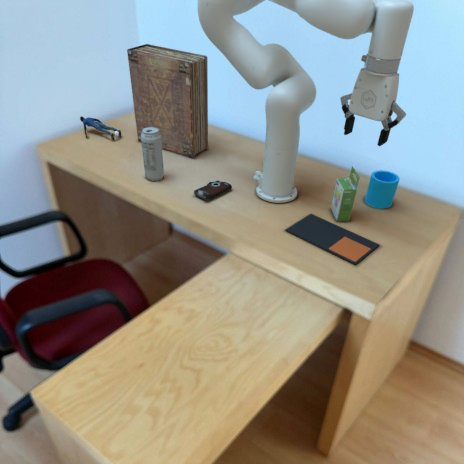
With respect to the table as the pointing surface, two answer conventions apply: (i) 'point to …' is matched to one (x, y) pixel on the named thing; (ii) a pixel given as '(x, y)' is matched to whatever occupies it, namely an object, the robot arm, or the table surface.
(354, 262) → the desk mat
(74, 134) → the table surface
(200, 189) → the camera
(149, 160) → the energy drink can
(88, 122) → the person figurine
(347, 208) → the ink box
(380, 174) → the mug
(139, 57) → the book
